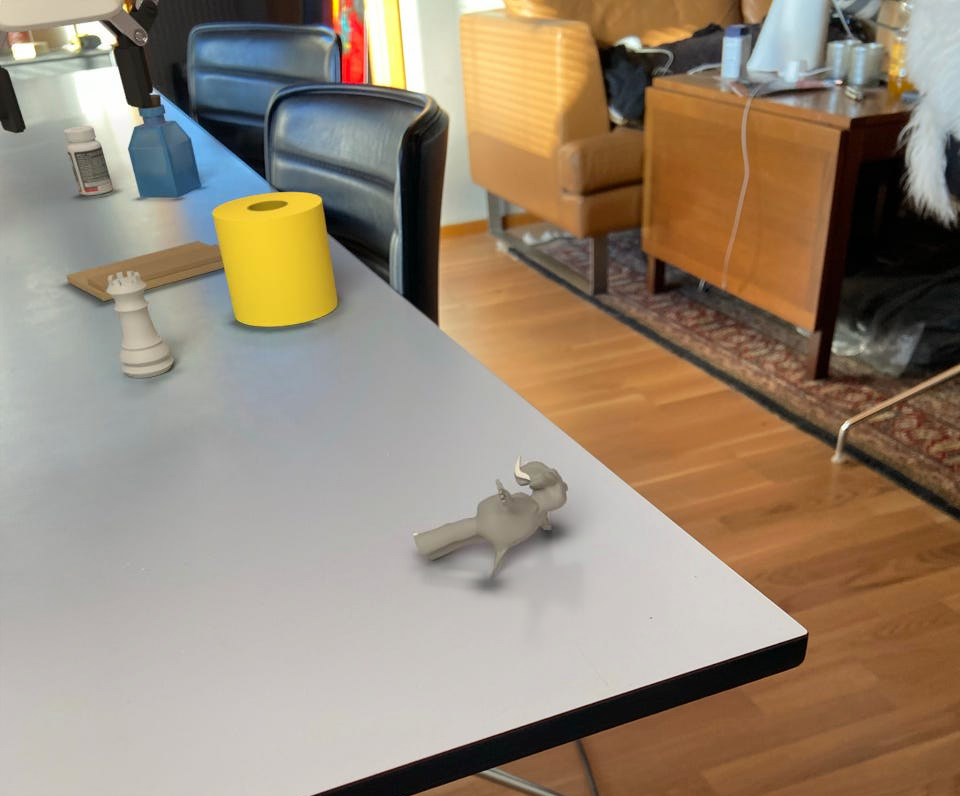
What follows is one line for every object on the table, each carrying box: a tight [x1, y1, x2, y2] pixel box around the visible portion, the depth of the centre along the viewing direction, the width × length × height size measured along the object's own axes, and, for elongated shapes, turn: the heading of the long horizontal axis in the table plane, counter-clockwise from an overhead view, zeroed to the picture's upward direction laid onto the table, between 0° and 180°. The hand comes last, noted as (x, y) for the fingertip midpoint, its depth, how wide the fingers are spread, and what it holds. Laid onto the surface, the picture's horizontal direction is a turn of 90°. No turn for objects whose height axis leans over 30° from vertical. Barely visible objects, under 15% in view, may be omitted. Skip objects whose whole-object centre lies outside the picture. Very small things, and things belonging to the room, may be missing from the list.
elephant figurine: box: [412, 454, 569, 580], centre depth 58 cm, size 10×6×9 cm
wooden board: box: [66, 240, 224, 302], centre depth 111 cm, size 16×10×1 cm, turn 129°
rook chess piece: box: [106, 271, 174, 379], centre depth 86 cm, size 4×4×8 cm
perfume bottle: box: [127, 93, 202, 198], centre depth 140 cm, size 6×6×12 cm
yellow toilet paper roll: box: [211, 191, 339, 328], centre depth 96 cm, size 10×10×9 cm
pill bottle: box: [63, 125, 114, 196], centre depth 145 cm, size 5×5×8 cm
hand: (79, 118), depth 75 cm, fingers open, 9 cm apart
